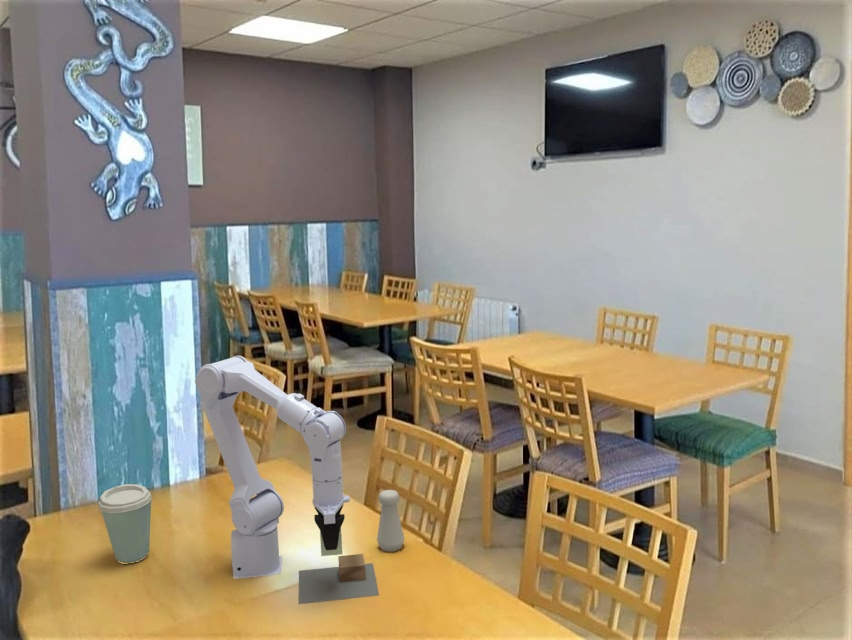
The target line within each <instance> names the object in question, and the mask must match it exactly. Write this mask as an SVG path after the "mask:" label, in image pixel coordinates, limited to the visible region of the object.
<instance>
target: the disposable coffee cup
mask: <svg viewBox="0 0 852 640" xmlns="http://www.w3.org/2000/svg"><path fill="white" fill-rule="evenodd" d="M99 498H100V499H99V501H98V506H97V507H98V509H99V510H100V512H101V515H102V519H103V521H104V522H103V523H104V524H105V529H106V530H107V531H106V532H107V535H108V538H109V542H110V545H111V547H112V551H113V554H114V557H115V560H116V561H117V562H118V561H120V562H123V563H130V562H131V563H132V562H136V561H140V560H141V559H143V558H145V557H146V556H147V554H148V555H149V553H150V543H151V542H150V541H151V539H150V538H151V536H150V535H151V516H152V514H151V511H152V499H153V496H152V493H151V492H150V491H149V489H147V487H146V486H144V485H140V484H131V483H130V484H129V483H127V484H126V483H125V484H121V485H117V486H113V487H111V488H109V489H106V490H104V492H103V493H102V494H101V495H100V497H99ZM147 557H148V556H147ZM147 557H146V558H147ZM140 562H141V561H140Z"/></svg>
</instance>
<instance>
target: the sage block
mask: <svg viewBox="0 0 852 640" xmlns="http://www.w3.org/2000/svg"><path fill="white" fill-rule="evenodd" d="M342 535H343V534H342V527H341V528H340V532H339V539H338V546H337V549H336V550H326V549H325V546H324V542H323V538H322V535H321V532H320V531H319V536H320V537H319V540H320V554H321V555H320V556H321V557H328V556H341V555H343V541H342V540H343V539H342Z"/></svg>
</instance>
